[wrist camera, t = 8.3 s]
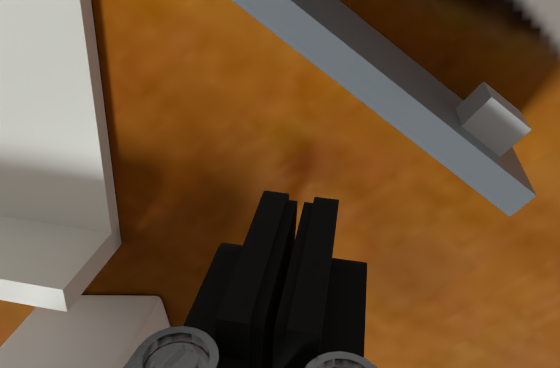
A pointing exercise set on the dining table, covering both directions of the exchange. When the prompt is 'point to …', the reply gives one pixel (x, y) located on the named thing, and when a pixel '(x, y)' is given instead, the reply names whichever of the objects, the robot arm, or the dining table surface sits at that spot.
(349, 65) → the side door
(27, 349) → the medicine bottle
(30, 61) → the case
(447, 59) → the dining table surface
